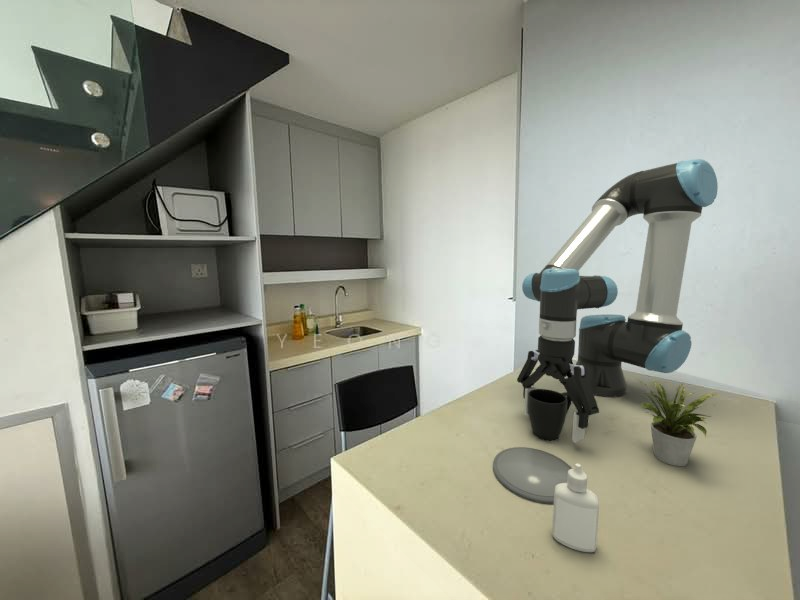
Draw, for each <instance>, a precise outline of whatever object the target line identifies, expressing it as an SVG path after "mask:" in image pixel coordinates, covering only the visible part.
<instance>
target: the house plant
mask: <svg viewBox="0 0 800 600" xmlns="http://www.w3.org/2000/svg"><path fill="white" fill-rule="evenodd" d="M631 379H632V380H634V381H635V380H636V381H637V382H639V383H641V384H643V385H644V386H645V387H646V388H648V390H649V391H647V394H648V393H649V394H651V395H652V396H653V397H654V399H653V398H651V396H649V395H647V394H645V396H646V398H648V399H650V400H651V402H652V403H653V404H651V403H649V402H642V403H640V404H639V405H640V406H643V407H644V409H645V410H649V411H652V412H653V413H655V415H654V414H653V413H650V415H651V416H652V417H653V418H652V422H650V428H651V429H650V430H651V437H652V439H651V440H652V447H653V454H654V456H655V457H656V458H657V459H658V460H659V461H662V462H663V463H665V464H668V465H672V466H676V467H685V466H687V464H688V462H689V459H690V456H691V455H692V451H693V448H694V445H695V443H696V440H697V433H695V428H694V427H693V426H695V427H696V429H698V430H699V431H700V432H702V433H703V435H704V436H705V437H707V432H708V431H707V429H706V428H705V427H704V426H703V425H701V424H699V422H704V423H706V421H705V420H707V417H708V418H711V416H709V415H706V414H700V413H692V412H694V411H695V410H697V409H699V408H700V407H705V406H706V404H705V405H702V404H703V403H705V402H706V401H707V400H708V399H709V398H712V397H714V396H716V395H717V393H710V394H706V395H703V396H701V397H698V398H697V399H695V400H694V401H693V400H692V402H691V403H689V404H688V405H687V406H686V405H684V402H685V400H686V397H687V396H689V395H691V394H695V393H696V391H694V392H691V393H687V394H686V390H685V387H684V386H683V385H684V383H685V381H683V382H682V383H680V385H679V386H678V387H677V390H676V391H675V396H674V398H673V400H670V401H668V398H667V395H666V394H667V393H666V390H665V388H664V386H663V385H662V383H660V381H658V380H656V379H655V381H652V384H653V386H654V388H656V391H657V393H658V395H657V394H655V393H654V392H653V391H652V390H651V388H650V387H649V386H648V385H647V384H646V383H644V382H643V381H641V380H638V379H635V378H633V377H631ZM656 382H657V383H658V384H657V383H656ZM681 387H682V388H681ZM680 389H681V392H680ZM679 392H680V394H679ZM639 395H642V396H644V394H641V393H640V394H639ZM678 396H679V399H678ZM655 400H656V401H657V403H658V404H657V403H656V401H655ZM677 400H678V402H677ZM699 405H700V406H699ZM701 405H702V406H701ZM658 406H659V407H660V408H661V410H662V411H661V410H660V408H659V407H658ZM714 406H716V405H715V404H714ZM683 408H685V409H684V410H683V411H682V409H683ZM681 411H682V412H681ZM645 413H647V414H649V412H647V411H645ZM662 413H663V414H662ZM708 420H709V419H708ZM709 421H710V420H709ZM697 422H698V423H697Z"/></svg>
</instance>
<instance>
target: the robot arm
mask: <svg viewBox="0 0 800 600" xmlns="http://www.w3.org/2000/svg"><path fill="white" fill-rule="evenodd" d="M718 184H719V183H718V179H717V175H716V172H715V170H714V168H713V166H712V164H711V163H709V162H708V161H707V160H705V159H702V158H696V159H690V160H684V161H683V160H680V161H678V162H675V163H671V164H667V165H662V166H658V167H654V168H649V169H646V170H640V171H637V172H634V173H631V174H629V175H627V176H626V177H624V178H622V179H620V180H619V181H617V182H616V183H615V184H613V185H612V186H611V187H610V188H608V189H607V190H605V192H603V194H602V195H601V196H600V197H598V199H597V200H596V201H595V202H594V204H593V205H592V207H591V212H590V214H589V215H588V216H587V217H586V218H585V219H584V220H583V222H582V223H581V224H580V225H579V226H578V227H577V229H576V230H575V231H574V232H573V233H572V234H571V236H570V237H569V238H568V239H567V240H566V241H565V243H564V244H563V245H562V246H561V247H560V249H559V250H557V252H556V253H555V255H553V256H552V258H551V259H550V261H548V263H546V265H545V266H544V267H543V268H542V270H540V271H539V273H538V272H534V273H530V274H528V275H526V276H525V278H524V279H523V282H522V285H521V286H522V293H523V295H524V296H525V297H526V298H527V299H529V300H533V301H536V302H539V319H538V320H539V321H538V334H539V335H540V336H538V338H537V349H535V350H529V351H528V353H527V358H526V361H525V362H524V365H523V367H522V368H521V370H520V372H519V374H518V376H517V378H516V382H518V383H519V384H521V385H522V387H523V393H522V394H523V395H522V397H523V399H524V403H523V404H524V406H523V407H524V408H523V413H524V415H525V414H526V415H529V414H528V393H529V392H530V391H531V390H535V389H536V387H535V384H536V383H537V382H538V381H539V380H541V379H542V378H543V377H544V376H547V377H552V379H556V380H558V381H559V383H560V384H561V385H563V387H564V389H565V392H567V393H568V395H569V396H570V398H571V400H572V402H571V403H572V404H573V405H574V407H575V409H576V411H574V412H573V420H572V421H573V423H572V433H571V434H572V437H571V441H572V442H573V443H578V442H582V441H585V429H587V428H588V427H589V419H590V418H589V417H590V416H593V415H596V414H598V413H600V409H599V406H598V402H597V400H596V397H595V396H601V397H610V398H613V397H614V398H615V397H621V396H625V395H626V394H627V389H628V388H627V387H628V384H627V382H626V378H625V375H624V371H623V368H622V363H626V364H629V365H632V366H636V367H639V368H643V369H646V371H647V370H648V371H652V372H658V373H662V374H671V373H673V372H676V371H677V370H678V369H680V367H682V366H683V365H684V363H685V362H686V361H687V359H688V356H689V354H690V351H691V349H692V344H693V343H692V340H691V339H692V338H691V337H692V336H691V335H690V334H689V333H688V332H686V331H685V330H683V325H684V323H683V322H682V320H681V319H680V318H679V317H678V316H677V313H678V308H679V303H680V296H681V290H682V284H683V277H684V272H685V267H686V259H687V252H688V246H689V241H690V234H691V229H692V223H693V222H694V221H696V220H697V219H699V218H700V217H701V216H702V210H703V208H706V207H708V206H711V205H712V204H713V203H715V200H716V198H717V195H718V187H719V185H718ZM642 214H643V216H642V218H643V220H645V222H647V223H648V227H647V233H646V235H647V236H646V241H645V248H644V249H645V250H644V254H643V255H644V256H643V262H642V269H641V274H640V280H639V286H638V295H637V300H636V307H635V311H634V312H633V313H631V314H630V315H628V317H627V319H626V317H625V315H622V314H589V315H585V316H583V317H581V319H580V323H579V327H578V347H577V348H578V350H577V351H578V352H577V361H576V364H574V363H573V357H574V356H575V348H576V347H575V346H576V340H575V339H574V338H576V335H577V315H578V310H586V309H599V308H603V307H609V306H610V305H612V304H613V303H614V302H615V301H616V299H617V297H618V291H619V290H618V286H617V284H616V282H615V281H614V279H612V278H610V277H609V276H606V275H580V270H581V268H582V267H584V266H585V264H586V263H587V262H588V260H589V259H590V258H591V256H592V255H593V254H594V253H596V250H597V249H598V248H599V247H600V246H601V245H602V243H603V242H604V241H605V240H606V239H607V238H608V236H609V235H610V234H611V233H612V231H613V230H614V229H615V228H616V227H617V226H620V225H622V224H623V223H624V222H625V221H626V220H627V219H628V218H630V217H633V216H635V215H642ZM538 362H539V365H538V366H537V364H538ZM536 366H537V367H536ZM535 367H536V368H535ZM534 369H535V370H534ZM566 377H567V378H566Z"/></svg>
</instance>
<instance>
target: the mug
mask: <svg viewBox="0 0 800 600" xmlns="http://www.w3.org/2000/svg"><path fill="white" fill-rule="evenodd" d="M572 403H573V402H572V400H571V398H570V396H569V395H568V393H567V391H563V392H558V391H556V390H551V389H545V388H537V389H536V388H535V390H531V391H530V392H529V393H528V414H527V415H528V418H529V423H530V426H531V430H532V434H533V436H534V437H536V438H537V439H538V440H541V441H542V440H543V441H545V442H556V441H558V439H559V438H560V435H561V433H562V431H563V428H564V426H565V422H566V420H567V419H566V417H567V415H568V413H569V410H570V407H571V406H572Z"/></svg>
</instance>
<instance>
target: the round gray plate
mask: <svg viewBox="0 0 800 600" xmlns="http://www.w3.org/2000/svg"><path fill="white" fill-rule="evenodd" d="M492 463H493V468H492V469H493V473H494V475H495V477H496V479H497V481H498V483H500V485H502V486H503V488H505V489H506V490H508V491H509V492H511V493H512V494H514V495H516V496H517V497H520V498H522V499H525V500H528V501H530V502H534V503H539V504H547V505H554V492H555V486H556V485H557V484H560V483H567V479H568V471H569V470H570V469H573V468H572V467H571V465H569V464H568V463H567V462H566V461H565V460H563V459H562V458H560V457H558V456H556V455H554V454H552V453H550V452H547V451H545V450H541V449H538V448H534V447H533V448H532V447H525V446H522V447H521V446H516V447H509V448H506V449H503V450H501V451H499V452H498V453H497V454H496V455H495V457H494V459H493V462H492Z"/></svg>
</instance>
